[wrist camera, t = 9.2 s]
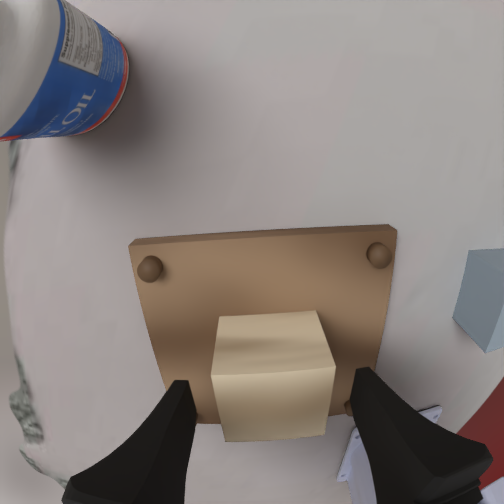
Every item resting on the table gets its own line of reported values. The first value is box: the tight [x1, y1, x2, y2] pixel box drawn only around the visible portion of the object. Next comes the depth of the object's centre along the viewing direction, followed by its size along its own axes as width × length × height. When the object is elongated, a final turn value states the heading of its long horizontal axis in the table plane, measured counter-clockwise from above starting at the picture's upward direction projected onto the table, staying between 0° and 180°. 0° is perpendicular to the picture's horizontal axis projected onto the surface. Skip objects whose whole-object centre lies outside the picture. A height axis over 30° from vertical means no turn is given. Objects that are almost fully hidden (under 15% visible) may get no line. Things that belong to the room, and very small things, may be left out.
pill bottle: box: [0, 0, 129, 141], centre depth 6 cm, size 6×5×10 cm
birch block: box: [211, 310, 336, 442], centre depth 13 cm, size 4×4×4 cm
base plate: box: [128, 224, 397, 424], centre depth 15 cm, size 12×12×2 cm
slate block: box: [452, 249, 504, 353], centre depth 13 cm, size 4×4×4 cm
